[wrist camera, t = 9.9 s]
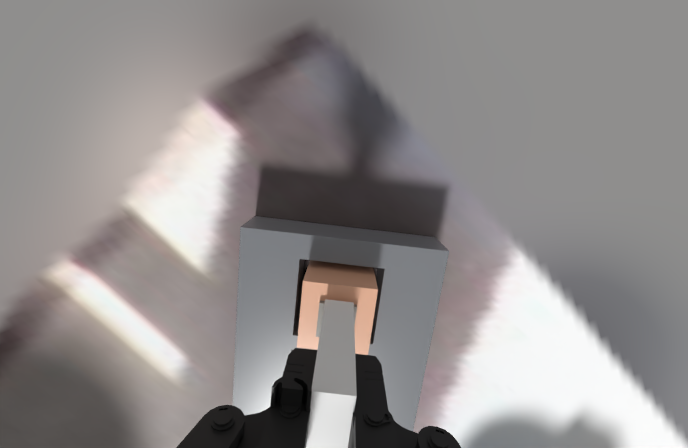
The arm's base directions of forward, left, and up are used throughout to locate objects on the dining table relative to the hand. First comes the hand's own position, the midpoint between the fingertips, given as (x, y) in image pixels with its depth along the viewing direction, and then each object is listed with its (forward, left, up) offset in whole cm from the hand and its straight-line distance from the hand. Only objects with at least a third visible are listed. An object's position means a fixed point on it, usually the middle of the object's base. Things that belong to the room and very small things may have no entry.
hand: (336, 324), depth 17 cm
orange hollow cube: (0, 0, -4) cm, 4 cm away
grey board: (0, -9, -5) cm, 10 cm away
